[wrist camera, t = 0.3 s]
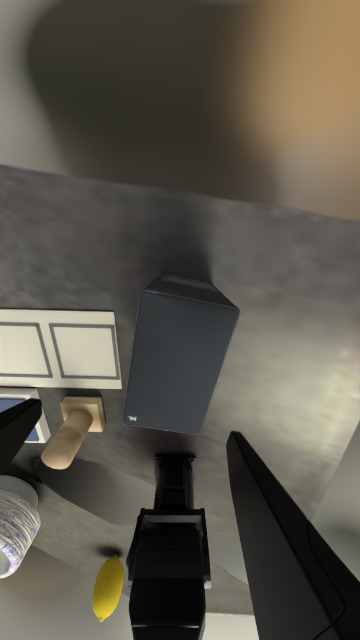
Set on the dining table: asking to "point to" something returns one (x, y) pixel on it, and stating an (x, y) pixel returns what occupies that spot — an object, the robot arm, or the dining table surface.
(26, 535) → the paper bowls
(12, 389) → the ink pad
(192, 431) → the small box
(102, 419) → the stamp
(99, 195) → the dining table surface
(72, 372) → the print sheet
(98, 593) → the lemon
